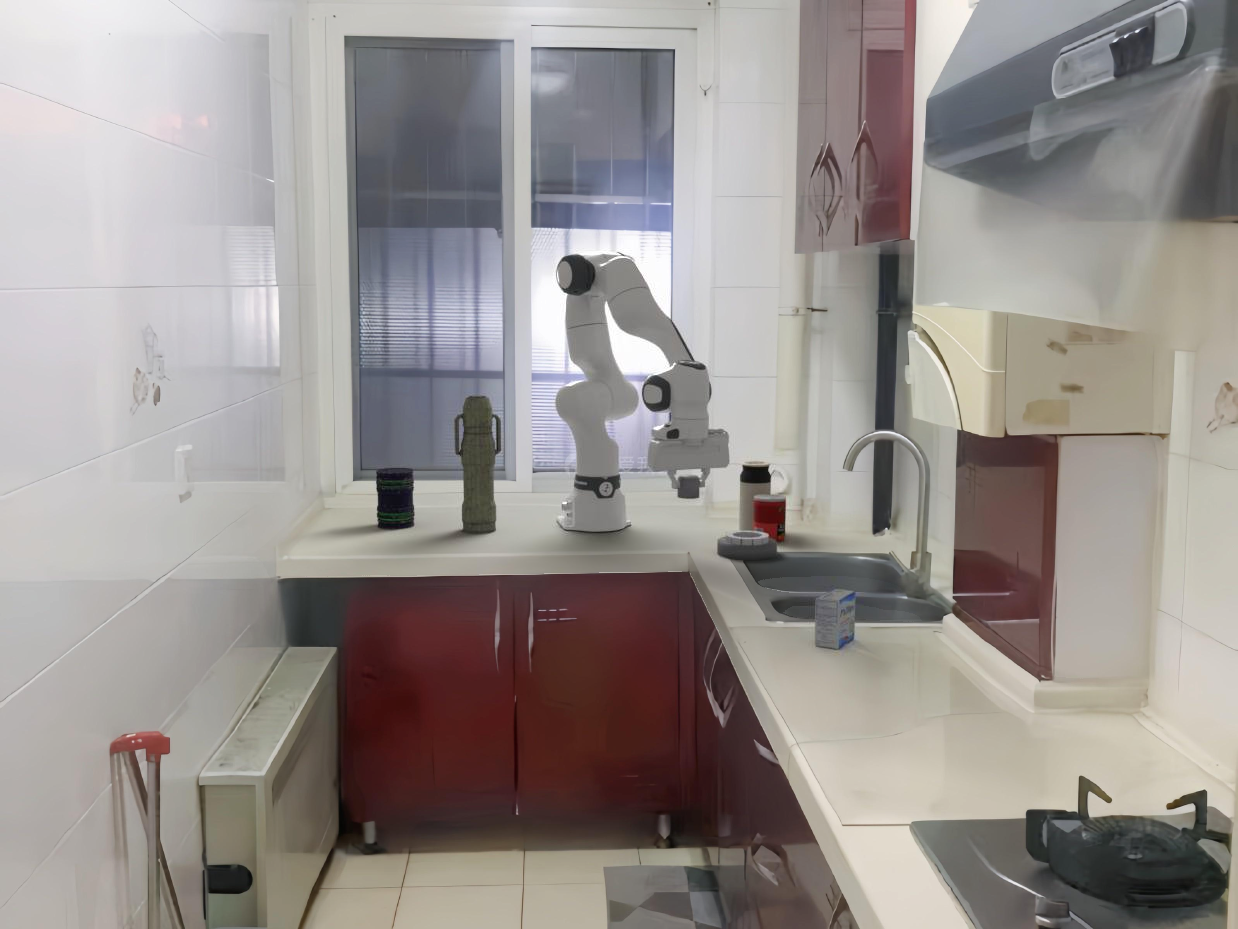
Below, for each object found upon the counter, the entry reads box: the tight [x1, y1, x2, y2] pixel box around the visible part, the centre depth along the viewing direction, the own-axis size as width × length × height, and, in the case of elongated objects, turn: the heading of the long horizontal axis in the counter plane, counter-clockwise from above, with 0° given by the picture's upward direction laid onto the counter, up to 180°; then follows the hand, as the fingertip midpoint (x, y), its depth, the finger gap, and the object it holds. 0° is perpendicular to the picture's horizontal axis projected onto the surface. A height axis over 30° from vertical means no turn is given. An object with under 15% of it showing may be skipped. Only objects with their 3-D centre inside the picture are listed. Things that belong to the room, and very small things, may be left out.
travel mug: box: [738, 460, 772, 531], centre depth 292 cm, size 8×8×18 cm
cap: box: [676, 474, 701, 500], centre depth 267 cm, size 5×5×5 cm
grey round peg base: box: [716, 530, 778, 561], centre depth 267 cm, size 14×14×4 cm
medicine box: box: [814, 588, 856, 651], centre depth 195 cm, size 8×4×9 cm, turn 148°
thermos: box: [454, 395, 502, 534], centre depth 292 cm, size 9×12×35 cm
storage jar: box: [375, 467, 415, 530], centre depth 299 cm, size 10×10×15 cm
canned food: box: [753, 493, 787, 543], centre depth 282 cm, size 8×8×11 cm
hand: (688, 487), depth 267 cm, fingers closed on cap, 5 cm apart
